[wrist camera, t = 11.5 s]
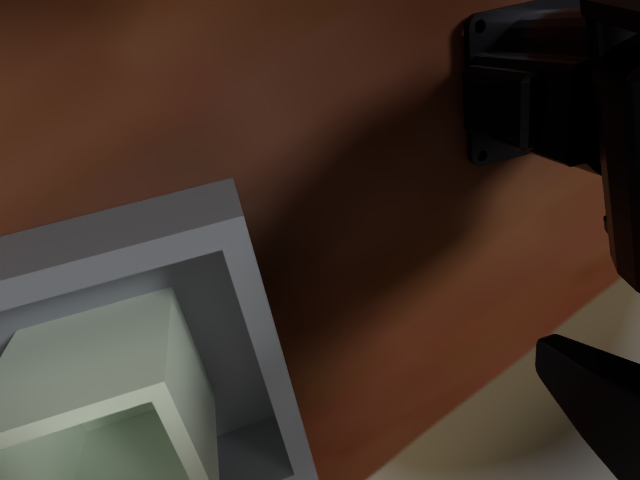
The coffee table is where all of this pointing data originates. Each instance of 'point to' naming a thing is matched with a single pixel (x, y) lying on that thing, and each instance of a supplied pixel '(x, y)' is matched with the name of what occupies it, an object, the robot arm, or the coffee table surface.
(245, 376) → the grey crate
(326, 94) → the coffee table surface
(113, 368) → the sage crate
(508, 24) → the robot arm
